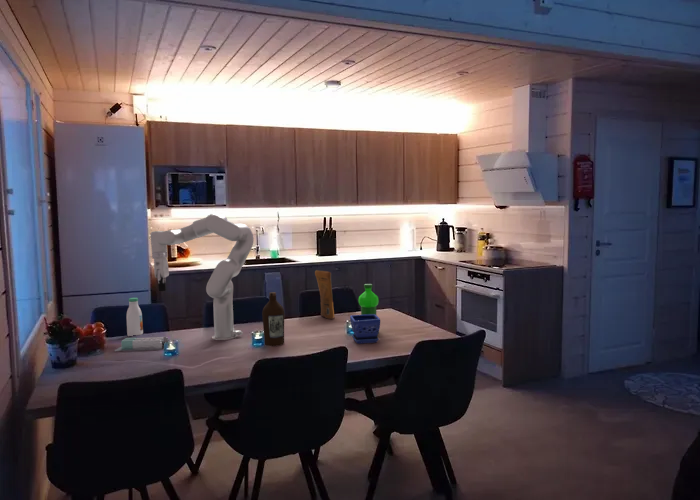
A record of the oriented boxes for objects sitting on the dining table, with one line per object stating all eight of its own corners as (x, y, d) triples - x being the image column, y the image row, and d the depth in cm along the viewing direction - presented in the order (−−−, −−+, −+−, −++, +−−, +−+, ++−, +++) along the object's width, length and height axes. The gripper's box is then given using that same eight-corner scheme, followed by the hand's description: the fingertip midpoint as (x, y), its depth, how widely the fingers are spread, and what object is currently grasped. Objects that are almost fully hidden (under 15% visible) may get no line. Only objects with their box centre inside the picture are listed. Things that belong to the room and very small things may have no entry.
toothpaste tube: (166, 345, 266) (166, 336, 265) (164, 346, 262) (164, 338, 262) (126, 346, 265) (126, 337, 265) (124, 348, 262) (123, 339, 262)
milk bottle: (137, 337, 288) (135, 299, 287) (124, 336, 290) (122, 299, 288) (145, 333, 296) (143, 297, 294) (133, 333, 297) (131, 297, 296)
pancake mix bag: (327, 320, 320) (325, 272, 318) (315, 314, 337) (313, 269, 335) (337, 318, 323) (336, 271, 321) (325, 313, 340) (324, 268, 338)
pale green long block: (168, 346, 262) (168, 336, 262) (166, 348, 259) (165, 338, 258) (124, 348, 262) (123, 337, 261) (121, 350, 258) (120, 339, 258)
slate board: (181, 340, 277) (181, 339, 277) (169, 350, 257) (169, 349, 257) (129, 342, 277) (129, 340, 277) (113, 352, 257) (113, 351, 257)
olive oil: (260, 343, 268) (258, 292, 266) (281, 340, 273) (279, 290, 271) (266, 347, 259) (264, 295, 257) (288, 344, 263) (286, 293, 261)
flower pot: (381, 343, 261) (381, 318, 260) (354, 345, 259) (353, 320, 258) (375, 337, 274) (375, 313, 273) (349, 339, 272) (349, 315, 271)
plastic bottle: (362, 335, 280) (360, 286, 278) (357, 330, 290) (356, 283, 288) (381, 333, 282) (380, 285, 280) (376, 329, 292) (374, 282, 290)
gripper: (163, 255, 274) (166, 292, 275) (171, 253, 289) (173, 288, 290) (147, 256, 273) (150, 293, 275) (156, 254, 288) (159, 289, 289)
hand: (162, 290), depth 282 cm, fingers closed
